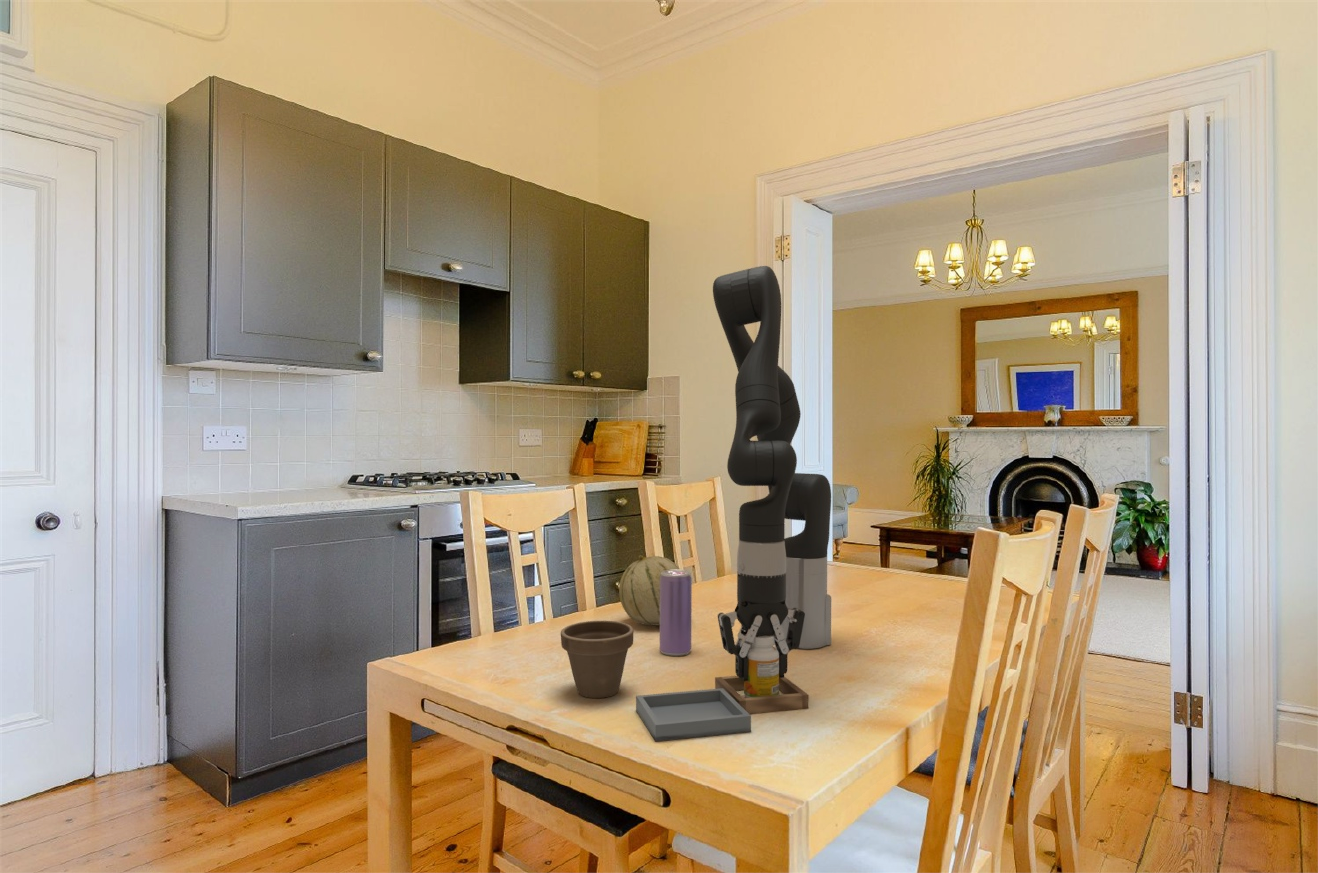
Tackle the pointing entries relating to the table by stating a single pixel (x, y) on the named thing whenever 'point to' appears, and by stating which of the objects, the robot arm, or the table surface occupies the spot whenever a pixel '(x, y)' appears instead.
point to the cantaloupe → (644, 588)
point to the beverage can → (675, 612)
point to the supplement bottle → (762, 668)
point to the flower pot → (597, 655)
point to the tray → (692, 714)
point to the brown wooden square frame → (788, 701)
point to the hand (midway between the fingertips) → (761, 677)
